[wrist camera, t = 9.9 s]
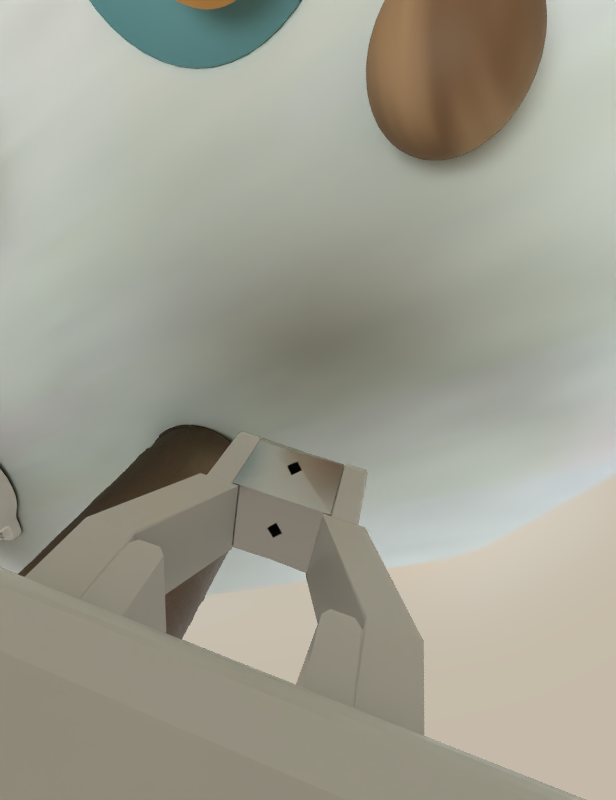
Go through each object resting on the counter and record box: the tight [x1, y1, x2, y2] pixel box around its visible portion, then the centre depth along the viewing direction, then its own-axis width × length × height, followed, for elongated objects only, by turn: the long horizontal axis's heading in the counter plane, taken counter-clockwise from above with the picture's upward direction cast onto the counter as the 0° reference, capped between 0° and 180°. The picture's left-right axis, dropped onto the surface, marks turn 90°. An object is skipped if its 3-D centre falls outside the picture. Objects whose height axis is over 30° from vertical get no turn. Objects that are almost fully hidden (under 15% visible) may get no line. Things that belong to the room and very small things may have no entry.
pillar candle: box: [18, 425, 231, 639], centre depth 25 cm, size 10×10×15 cm
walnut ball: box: [366, 0, 547, 160], centre depth 14 cm, size 6×6×6 cm
